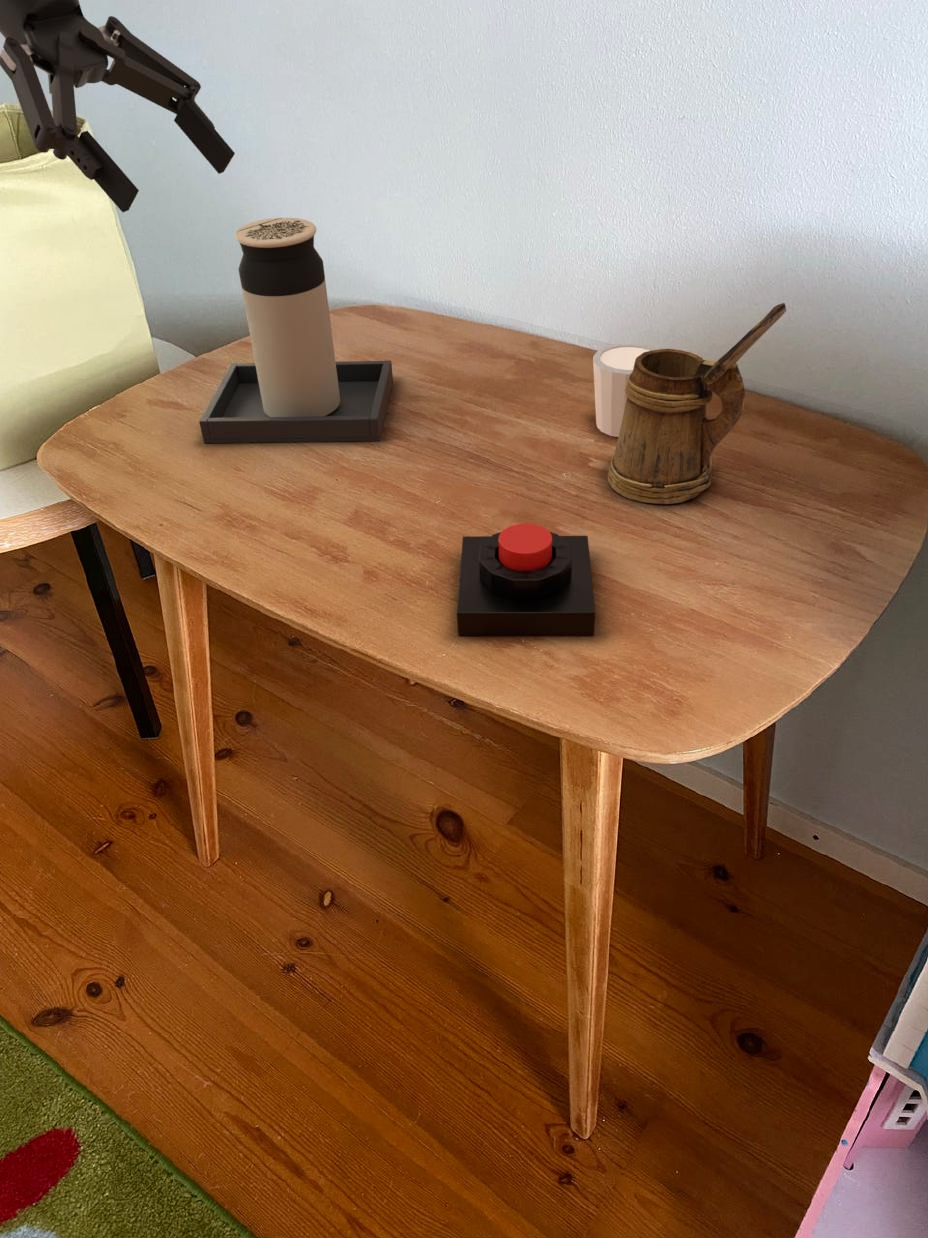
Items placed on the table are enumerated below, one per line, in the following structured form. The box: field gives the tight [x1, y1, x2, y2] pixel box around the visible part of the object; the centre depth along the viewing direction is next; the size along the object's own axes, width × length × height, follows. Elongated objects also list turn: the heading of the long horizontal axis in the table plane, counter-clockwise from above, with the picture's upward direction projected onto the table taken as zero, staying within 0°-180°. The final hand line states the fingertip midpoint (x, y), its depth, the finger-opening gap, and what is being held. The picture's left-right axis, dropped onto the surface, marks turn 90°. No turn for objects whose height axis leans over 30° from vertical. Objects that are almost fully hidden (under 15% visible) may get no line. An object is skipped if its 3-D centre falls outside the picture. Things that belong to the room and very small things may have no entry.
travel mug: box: [234, 217, 340, 417], centre depth 97 cm, size 8×8×18 cm
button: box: [499, 523, 552, 571], centre depth 74 cm, size 4×4×2 cm
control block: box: [456, 531, 596, 637], centre depth 75 cm, size 10×10×4 cm
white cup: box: [592, 343, 657, 438], centre depth 96 cm, size 7×7×7 cm
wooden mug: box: [607, 302, 787, 505], centre depth 82 cm, size 9×14×18 cm, turn 54°
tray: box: [198, 360, 394, 444], centre depth 102 cm, size 18×14×2 cm
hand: (181, 181), depth 93 cm, fingers open, 13 cm apart
